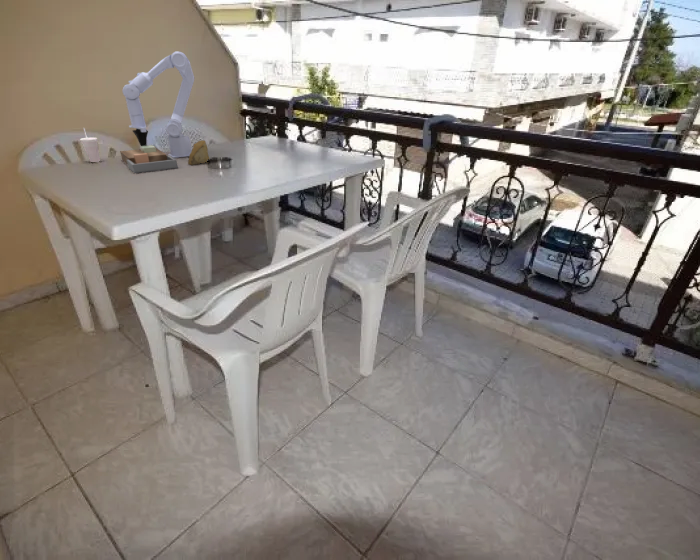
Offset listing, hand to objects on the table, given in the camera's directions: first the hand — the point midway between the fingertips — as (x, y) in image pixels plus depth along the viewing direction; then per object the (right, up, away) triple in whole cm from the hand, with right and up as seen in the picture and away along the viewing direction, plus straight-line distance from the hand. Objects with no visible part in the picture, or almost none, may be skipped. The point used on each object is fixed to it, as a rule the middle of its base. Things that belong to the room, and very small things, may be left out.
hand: (143, 146), depth 174 cm
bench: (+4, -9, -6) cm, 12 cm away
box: (+12, -14, -15) cm, 24 cm away
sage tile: (+5, -4, -5) cm, 8 cm away
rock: (+27, -9, -4) cm, 29 cm away
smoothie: (-17, -10, -8) cm, 21 cm away
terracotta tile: (+7, -11, -15) cm, 19 cm away
